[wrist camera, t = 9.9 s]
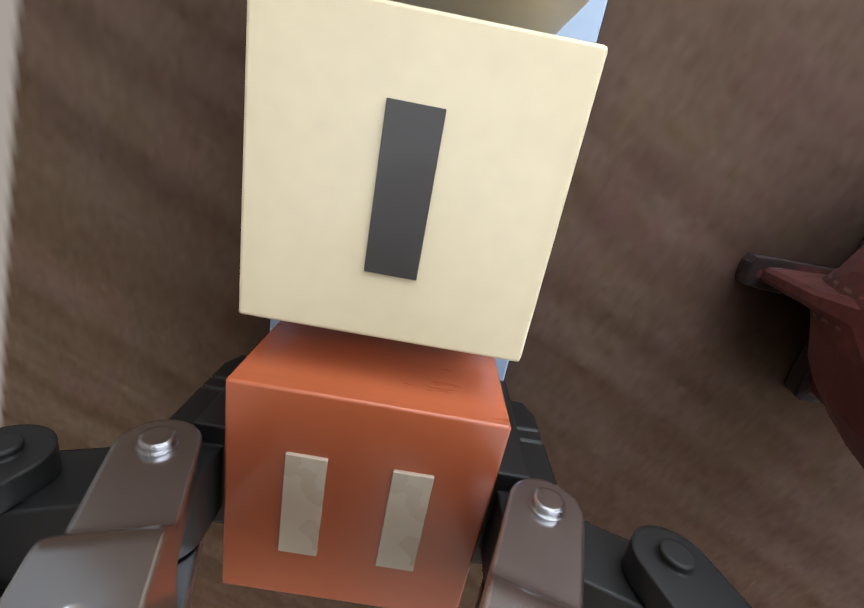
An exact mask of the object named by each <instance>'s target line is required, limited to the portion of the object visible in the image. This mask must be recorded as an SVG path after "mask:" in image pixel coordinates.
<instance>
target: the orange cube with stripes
mask: <svg viewBox="0 0 864 608" xmlns="http://www.w3.org/2000/svg"><path fill="white" fill-rule="evenodd" d="M510 431H511V425H510V421H509V416H508V412H507V408H506V404H505V400H504V396H503V391H502V387H501V383H500V379H499V375H498V371H497V366H496V362H495V358H493V357H487V356H482V355H476V354H470V353H464V352H459V351H453V350H447V349H442V348H436V347H430V346H424V345H419V344H413V343H407V342H401V341H396V340H390V339H384V338H378V337H373V336H367V335H361V334H355V333H350V332H344V331H338V330H332V329H327V328H321V327H315V326H309V325H304V324H298V323H292V322H287V321H280V322H279V323H278V324H277V325H276V326H275V327H274V328H273V329H272V330H271V331H270V332H269V334H268V335H267V336H266V337H265V338H264V339H263V340H262V341H261V342H260V343H259V344H258V345H257V346H256V347H255V348H254V350H253V351H252V352H251V353H250V354H249V355H248V356H247V357H246V358H245V359H244V360H243V361H242V362H241V363H240V365H239V366H238V367H237V368H236V369H235V370H234V371H233V372H232V373H231V374H230V375H229V376H228V377H227V379H226V408H225V467H224V526H223V582H224V583H227V584H233V585H240V586H247V587H253V588H260V589H266V590H273V591H279V592H286V593H293V594H299V595H306V596H312V597H319V598H325V599H332V600H339V601H345V602H352V603H358V604H365V605H372V606H378V607H385V608H458V606H459V603H460V600H461V596H462V593H463V589H464V586H465V583H466V579H467V576H468V573H469V569H470V566H471V562H472V559H473V556H474V552H475V549H476V546H477V542H478V539H479V535H480V532H481V529H482V525H483V522H484V519H485V515H486V512H487V508H488V505H489V502H490V498H491V495H492V492H493V488H494V485H495V481H496V478H497V475H498V471H499V468H500V465H501V461H502V458H503V454H504V451H505V448H506V444H507V441H508V438H509V434H510Z"/></svg>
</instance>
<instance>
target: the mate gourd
mask: <svg viewBox="0 0 864 608" xmlns="http://www.w3.org/2000/svg"><path fill="white" fill-rule="evenodd" d="M736 281H738V282H740V283H742V284H743V285H747V286H750V287H754V288H757V289H760V290H764V291H769V292H774V293H779V294H784V295H788V296H789V297H791V298H793V299H795V300H796V301H798V302H800V303H801V304H803V305H805V306H807V307H808V308H810V333H809V339H808V341H807V342H806V344H805V346H804V348H803V350H802V352H801V353H800V355H799V357H798V359H797V361H796V363H795V364H794V366H793V368H792V370H791V372H790V374H789V376H788V378H787V380H786V382H785V385H784V386H785V387H786V388H788V389H789V390H790V391H791V392H792V393H793V394H794V395H795V396H796V397H797V398H798V399H799V400H805V401H810V402H815V401H820V402H821V403H822V404H823V405H824V406H825V408H826V410H827V412H828V415H829V417H830V418H831V420H832V422H833V423H834V425H835V427H836V429H837V430H838V432H839V434H840V436H841V437H842V439H843V441H844V443H845V444H846V446H847V447H848V449H849V450H850V451H851V452H852V454H853V455H854V456H855V458H856V459H857V460H858V462H859V463H860V464H861V466H862V467H863V468H864V239H863V241H862V242H861V244H860V246H859V248H858V249H857V251H856V252H855V253H854V254H853V255H852V256H851V257H850V258H849V259H848V260H847V261H846V262H844V263H843V264H842V265H841V266H840V267H839V268H831V267H824V266H818V265H813V264H808V263H802V262H797V261H792V260H787V259H782V258H777V257H772V256H767V255H760V254H751V253H749V254H747V255H746V256H745V257H744V258H743V260H742V262H741V264H740V266H739V268H738V271H737V273H736Z"/></svg>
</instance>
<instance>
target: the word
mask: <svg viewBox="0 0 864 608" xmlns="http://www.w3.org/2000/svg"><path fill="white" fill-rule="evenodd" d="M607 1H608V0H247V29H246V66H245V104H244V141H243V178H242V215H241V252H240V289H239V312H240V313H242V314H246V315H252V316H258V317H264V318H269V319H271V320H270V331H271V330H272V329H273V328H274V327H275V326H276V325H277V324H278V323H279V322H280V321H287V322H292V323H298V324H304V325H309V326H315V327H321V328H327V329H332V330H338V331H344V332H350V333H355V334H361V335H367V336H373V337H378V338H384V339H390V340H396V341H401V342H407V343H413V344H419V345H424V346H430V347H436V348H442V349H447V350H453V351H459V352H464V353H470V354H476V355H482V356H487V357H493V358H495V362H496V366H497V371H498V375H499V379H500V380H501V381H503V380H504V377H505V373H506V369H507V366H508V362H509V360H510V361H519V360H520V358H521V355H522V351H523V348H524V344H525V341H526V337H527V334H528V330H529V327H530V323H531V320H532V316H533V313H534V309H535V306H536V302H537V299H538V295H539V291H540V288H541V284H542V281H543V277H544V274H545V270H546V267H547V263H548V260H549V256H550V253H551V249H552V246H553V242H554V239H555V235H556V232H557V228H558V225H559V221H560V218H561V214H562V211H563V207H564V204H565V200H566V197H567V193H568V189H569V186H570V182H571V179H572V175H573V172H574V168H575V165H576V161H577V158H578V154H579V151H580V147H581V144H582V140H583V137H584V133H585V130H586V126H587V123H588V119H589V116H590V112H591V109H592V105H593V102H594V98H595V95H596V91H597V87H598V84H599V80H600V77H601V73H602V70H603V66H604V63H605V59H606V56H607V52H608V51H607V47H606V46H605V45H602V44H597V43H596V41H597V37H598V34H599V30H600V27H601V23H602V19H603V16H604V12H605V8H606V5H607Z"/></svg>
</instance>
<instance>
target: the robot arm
mask: <svg viewBox="0 0 864 608" xmlns="http://www.w3.org/2000/svg"><path fill="white" fill-rule="evenodd" d="M246 357H247V356H245V355H242V356H240V357H238V358H235V359H233V360H231V361H229V362H227V363H225V364H224V365H223V366H222V367H221V368H220V369H219V370H218V371H217V372H216V373H215V374H214V375H213V377H212V378H210V379H209V380H208V381H207V382H206V383H205V384H204V385H203V387H202V388H200V389H199V390H198V391H197V392H196V393H195V394H194V395H193V396H192V397H191V398H190V399H189V400H188V401H187V402H186V403H185V404H184V405H183V406H182V407H181V408H179V409H178V410H177V411H176V412H175V413H174V414H173V415H172V416H171V417H170V418H169V419H168V420H157V421H152V422H148V423H144V424H141V425H138V426H136V427H134V428H132V429H130V430H128V431H126V432H125V433H123V434H122V435H121V436H119V437H118V438H117V439H116V440H115V441H114V443H113V444H112V446H111V447H106V448H92V449H76V450H59V444H58V437H57V435H56V433H55V432H54V431H53V430H51V429H49V428H47V427H44V426H39V425H14V426H7V427H2V428H0V608H191V603H192V598H193V594H194V589H195V584H196V579H197V574H198V569H199V564H200V559H201V554H202V547H203V537H204V535H205V533H206V532H207V530H208V528H209V527H210V525H211V523H212V522H219V523H224V467H225V408H226V379H227V377H228V376H229V375H230V374H231V373H232V372H233V371H234V370H235V369H236V368H237V367H238V366H239V365H240V363H241V362H242V361H243V360H244V359H245V358H246ZM500 383H501V387H502V391H503V396H504V400H505V404H506V408H507V412H508V416H509V421H510V425H511V431H510V434H509V438H508V441H507V444H506V448H505V451H504V454H503V458H502V461H501V465H500V468H499V471H498V475H497V478H496V481H495V485H494V488H493V492H492V495H491V498H490V502H489V505H488V508H487V512H486V515H485V519H484V522H483V525H482V529H481V532H480V535H479V539H478V542H477V546H476V549H475V552H474V556H473V559H472V563H479V564H482V569H483V580H482V583H481V586H480V589H479V593H478V596H477V600H476V604H475V608H752V607H751V606H750V605H749V604H748V603H747V602H746V601H745V599H744V598H743V597H742V596H741V595H740V594H739V593H738V592H737V590H736V589H735V588H734V587H733V586H732V585H731V584H730V583H729V582H728V580H727V579H726V578H725V577H724V576H723V575H722V574H721V573H720V571H719V570H718V569H717V568H716V567H715V566H714V565H713V564H712V562H711V561H710V560H709V559H708V558H707V557H706V556H705V555H704V554H703V553H702V552H701V551H700V550H699V549H698V548H697V547H696V546H695V545H694V544H692V543H691V542H689V541H688V540H687V539H685V538H684V537H682V536H680V535H679V534H677V533H675V532H673V531H670V530H668V529H665V528H662V527H658V526H642V527H639V528H638V529H636V530H635V531H634V533H633V535H632V537H631V539H630V541H629V540H627V539H625V538H622V537H620V536H617V535H615V534H613V533H610V532H608V531H605V530H603V529H601V528H599V527H596V526H594V525H592V524H591V523H589V522H587V521H586V520H585V519H584V514H583V511H582V509H581V507H580V505H579V504H578V503H577V501H576V500H575V499H574V498H573V497H572V496H571V495H570V494H569V493H568V492H567V491H565V490H564V489H563V488H561V487H559V486H557V484H556V481H555V478H554V475H553V472H552V469H551V466H550V463H549V460H548V457H547V454H546V451H545V448H544V445H542V439H541V436H540V433H538V427H537V424H536V421H535V418H534V416H533V415H532V414H531V413H530V412H529V411H528V409H527V408H526V407H525V406H524V405H523V404H522V403H518V402H512V401H510V399H509V395H508V391H507V388H506V384H505V382H504V381H501V380H500Z"/></svg>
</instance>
